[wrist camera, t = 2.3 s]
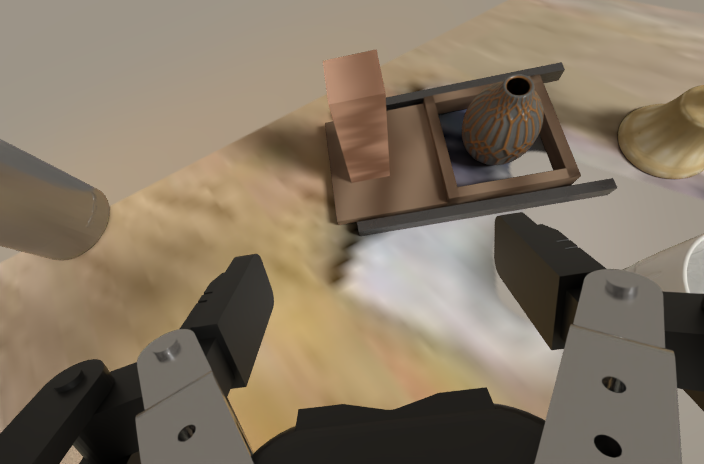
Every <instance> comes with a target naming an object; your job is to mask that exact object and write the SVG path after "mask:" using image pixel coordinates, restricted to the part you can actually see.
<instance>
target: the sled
mask: <svg viewBox="0 0 704 464" xmlns="http://www.w3.org/2000/svg"><path fill="white" fill-rule="evenodd" d="M323 66H324V74H325V81H326V89H327V97H328V104H329V108H330V111H331V115H332V118H333V121H332V122H327V123H325V127H326V135H327V144H328V152H329V160H330V168H331V176H332V184H333V192H334V200H335V208H336V216H337V222H338V224H339V225H343V224H348V223H354V222H360V221H366V220H372V219H378V218H384V217H389V216H395V215H401V214H407V213H413V212H419V211H425V210H430V209H436V208H442V207H448V206H454V205H460V204H465V203H471V202H477V201H483V200H489V199H495V198H501V197H506V196H512V195H518V194H524V193H530V192H536V191H542V190H547V189H553V188H559V187H565V186H571V185H572V184H573V183H574V182H575V181H576V180H577V179H578V178H579V177H580V176H581V174H580V172H579V169H578V167H577V164H576V162H575V160H574V157H573V155H572V152H571V150H570V147H569V145H568V142H567V140H566V137H565V135H564V133H563V130H562V128H561V125H560V123H559V120H558V118H557V115H556V113H555V111H554V108H553V106H552V103H551V101H550V98H549V96H548V93H547V91H546V89H545V86H544V84H543V81H542V79H541V76H540V74H537V75H532V76H528V77H529V78H530V79H531V80H532V81H533V83H534V88H535V91H536V92H537V94H538V95H539V97H540V99H541V102H542V105H543V111H544V116H543V124H542V128H541V131H540V133H539V134H540V136H541V139H542V142H543V144H544V147H545V149H546V152H547V155H548V157H549V160H550V163H551V165H552V168H553V171H548V172H542V173H536V174H530V175H525V176H519V177H513V178H508V179H502V180H496V181H491V182H485V183H479V184H473V185H468V186H462V187H457V184H456V180H455V177H454V173H453V169H452V165H451V161H450V158H449V154H448V150H447V146H446V142H445V139H444V135H443V131H442V127H441V123H440V120H439V116H438V114H442V113H447V112H452V111H457V110H462V109H467V108H468V107H469V105H470V104H471V102H472V101H473V100H474V98H475V97H476V96H477V95H478V94H479V93H480V92H481V91H483V90H484V89H485V88H487V87H489V86H490V85H493V84H495V83H492V84H487V85H482V86H477V87H472V88H467V89H462V90H457V91H452V92H447V93H442V94H437V95H432V96H427V97H424V99H423V104H418V105H413V106H408V107H403V108H398V109H393V110H388V111H386V95H385V89H384V84H383V79H382V74H381V69H380V64H379V60H378V55H377V50H372V51H367V52H362V53H357V54H353V55H348V56H343V57H339V58H334V59H330V60H325V61H323ZM497 83H498V82H497Z"/></svg>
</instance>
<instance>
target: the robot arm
mask: <svg viewBox="0 0 704 464" xmlns="http://www.w3.org/2000/svg"><path fill="white" fill-rule="evenodd" d="M109 210H110V208H109V203H108V200H107V198H106V196H105V195H104V194H103V193H102V192H101V191H100V190H98V189H96V188H94V187H92V186H90V185H89V184H87V183H85V182H83V181H81V180H79V179H77V178H75V177H73V176H71V175H69V174H68V173H66V172H64V171H62V170H60V169H58V168H56V167H54V166H52V165H50V164H48V163H46V162H44V161H42V160H40V159H38V158H36V157H35V156H33V155H31V154H29V153H27V152H25V151H23V150H20V149H19V148H17V147H15V146H13V145H11V144H9V143H7V142H5V141H3V140H1V139H0V246H2V247H6V248H10V249H14V250H17V251H21V252H26V253H30V254H34V255H38V256H42V257H46V258H50V259H54V260H67V259H72V258H74V257H77V256H79V255H81V254H83V253H84V252H86V251H87V250H89V249H90V248H91V247H92V246H93V245H94V244H95V243H96V242H97V241H98V240H99V238H100V237H101V235H102V234H103V232H104V230H105V228H106V226H107V223H108V219H109ZM494 259H495V266H496V269H497V272H498V274H499V276H500V278H501V279H502V280H503V282H504V283H505V284H506V286H507V288H508V289H509V290H510V292H511V293H512V295H513V296H514V298H515V299H516V300H517V302H518V303H519V304H520V306H521V308H522V309H523V310H524V312H525V313H526V315H527V316H528V318H529V319H530V320H531V322H532V323H533V325H534V326H535V328H536V329H537V330H538V332H539V333H540V335H541V336H542V338H543V339H544V340H545V342H546V343H547V345H548V346H549V348H550V349H551V350H557V349H564V352H563V355H562V359H561V363H560V367H559V371H558V375H557V379H556V382H555V386H554V390H553V394H552V398H551V402H550V406H549V410H548V413H547V417H546V421H545V420H543V419H541V418H539V417H537V416H535V415H533V414H530V413H528V412H526V411H523V410H520V409H517V408H514V407H510V406H505V405H501V404H494V403H493V402H492V399H491V397H490V394H489V392H488V389H487V387H486V388H478V389H469V390H460V391H452V392H443V393H437V394H435V395H432V396H429V397H427V398H424V399H421V400H419V401H416V402H413V403H411V404H408V405H405V406H403V407H400V408H397V409H394V410H383V409H376V408H368V407H361V406H353V405H346V404H340V405H332V406H323V407H314V408H306V409H299V410H298V416H297V422H296V426H294V427H292V428H290V429H288V430H286V431H284V432H282V433H280V434H278V435H277V436H275V437H274V438H272V439H270V440H269V441H268V442H266V443H265V444H264V445H263V446H261V447H260V448H259V449H258V450H257V451H256V452H255V453H254V452H253V450H252V448H251V446H250V444H249V442H248V439H247V437H246V435H245V433H244V431H243V429H242V427H241V425H240V423H239V421H238V418H237V416H236V414H235V412H234V410H233V408H232V406H231V404H230V402H229V400H228V398H227V396H228V394H229V391H230V389H233V388H241V387H246V386H247V383H248V380H249V377H250V374H251V371H252V368H253V366H254V363H255V360H256V357H257V354H258V351H259V348H260V345H261V342H262V339H263V336H264V333H265V330H266V327H267V324H268V321H269V318H270V315H271V312H272V310H273V305H274V297H273V291H272V288H271V285H270V282H269V280H268V277H267V274H266V271H265V268H264V265H263V262H262V260H261V258H260V256H259V255H258V254H252V255H245V256H239V257H235V258H234V259H233V261H232V262H231V264H230V265H229V267H228V269H227V270H226V272H225V273H222V274H221V275H219V276H218V277H217V278H216V279H215V280H213V281H212V282H211V283H210V284H209V286H208V287H207V289H206V290H205V292H204V295H202V296H201V298H200V299H199V301H198V303H197V304H196V305H195V307H194V308H193V310H192V311H191V313H190V314H189V316H188V317H187V319H186V320H185V322H184V323H183V325H182V326H181V328H180V329H179V330H175V331H171V332H169V333H166V334H164V335H162V336H160V337H159V338H157V339H155V340H154V341H153V342H151V343H150V344H149V345H148V346H147V347H146V348H145V349H144V350H143V351H142V352H141V354H140V355H139V357H138V360H137V362H136V363H133V364H131V365H128V366H125V367H122V368H120V369H117V370H114V371H111V372H109V370H108V369H107V368H106V366H105V365H104V363H103V362H102V361H101V360H97V359H93V360H87V361H83V362H80V363H78V364H76V365H73V366H71V367H69V368H68V369H66V370H64V371H62V372H61V373H59V374H58V375H57V376H55V377H54V378H53V379H51V380H50V381H49V382H48V383H47V384H46V385H45V386H44V387H43V388H42V389H41V390H40V391H39V392H38V393H37V394H36V395H35V397H34V398H33V399H32V400H31V401H30V402H29V403H28V404H27V405H26V406H25V407H24V408H23V410H22V411H21V412H20V413H19V414H18V415H17V416H16V417H15V418H14V419H13V420H12V421H11V423H10V424H9V425H8V426H7V427H6V428H5V429H4V430H3V431H2V432H1V433H0V464H59V463H60V462H61V461H62V459H63V458H64V456H65V455H66V453H67V452H68V451H69V449H70V448H71V446H72V445H73V446H74V447H75V448H76V449H77V450H78V451H79V453H80V454H81V455H82V456H83V459H82V460H81V462H80V463H79V464H682V457H681V439H680V426H679V425H680V424H679V409H678V394H677V388H680V389H683V390H684V391H685V392H686V393H687V394H688V395H689V396H690V397H691V398H692V399H693V400H694V401H695V402H696V404H698V406H699V407H700V408H701V409H702V410H703V411H704V294H699V293H681V292H664V291H662V290H661V288H660V287H659V286H658V285H657V284H656V283H655V282H653V281H652V280H650V279H648V278H646V277H644V276H642V275H639V274H636V273H633V272H629V271H624V270H617V269H606V268H605V267H603V266H602V265H601V264H600V263H598V262H597V261H596V260H595V259H593V258H592V257H591V256H589V255H588V254H587V253H586V252H584V251H583V250H582V249H581V248H578V247H577V245H576V244H574V243H573V242H572V241H571V240H570V241H569V239H568V238H567V237H566V236H564V235H563V234H562V233H561V232H559V231H558V230H556V229H553V228H550V227H548V226H545V225H543V224H540V225H537V224H536V223H534V222H533V221H532V220H531V219H530V218H529V217H527V216H526V215H525V214H524V213H522V212H520V213H513V214H507V215H501V216H497V217H496V219H495V248H494Z"/></svg>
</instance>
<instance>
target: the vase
mask: <svg viewBox="0 0 704 464" xmlns="http://www.w3.org/2000/svg"><path fill="white" fill-rule="evenodd" d="M543 116H544V111H543V105H542V102H541V99H540V97H539V95H538V94H537V92H536V91H535V88H534V83H533V81H532V80H531V79H530V78H529V77H528V76H525V75H522V74H514V75H511V76H509V77H507V78H506V79H505V80H504V81H501V82H498V83H495V84H493V85H490V86H489V87H487V88H485V89H484V90H483V91H481V92H480V93H479V94H478V95H477V96H476V97H475V98H474V100H473V101H472V102H471V104H470V105H469V107H468V109H467V110H466V113H465V116H464V119H463V123H462V139H463V143H464V146H465V148H466V150H467V151H468V153H469V154H470V155H471V156H472V157H473V158H474V159H476V160H477V161H479V162H482V163H484V164H488V165H502V164H506V163H509V162H512V161H514V160H516V159H517V158H519V157H521V156H522V155H523V154H524V153H526V152H527V151H528V150H529V148H530V147H531V146H532V145H533V143H534V142H535V141H536V139H537V137H538V135H539V133H540V131H541V128H542V124H543Z"/></svg>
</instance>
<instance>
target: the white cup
mask: <svg viewBox="0 0 704 464" xmlns="http://www.w3.org/2000/svg"><path fill="white" fill-rule="evenodd" d="M623 270H624V271H629V272H633V273H636V274H639V275H642V276H644V277H646V278H648V279H650V280H652V281H653V282H655V283H656V284H657V285H658V286H659V287H660V288H661V290H662V291H664V292H681V293H699V294H704V234H701V235H699V236H696V237H694V238H692V239H689V240H687V241H684V242H682V243H680V244H677V245H675V246H672V247H670V248H668V249H665V250H663V251H660V252H658V253H656V254H654V255H652V256H650V257H648V258H645V259H643V260H641V261H638V262H637V263H635V264H634V265H632V266H630V267H628V268H625V269H623Z"/></svg>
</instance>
